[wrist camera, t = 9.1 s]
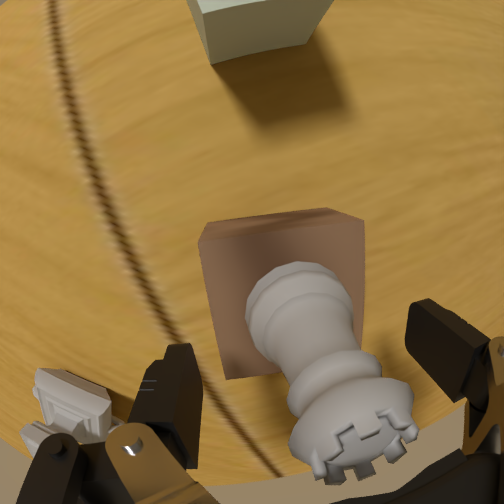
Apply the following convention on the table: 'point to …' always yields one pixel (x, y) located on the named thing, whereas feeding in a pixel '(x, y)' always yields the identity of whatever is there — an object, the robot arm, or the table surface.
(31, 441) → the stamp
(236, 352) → the walnut block
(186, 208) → the table surface
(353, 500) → the robot arm
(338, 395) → the rook chess piece
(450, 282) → the table surface
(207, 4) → the sage block
